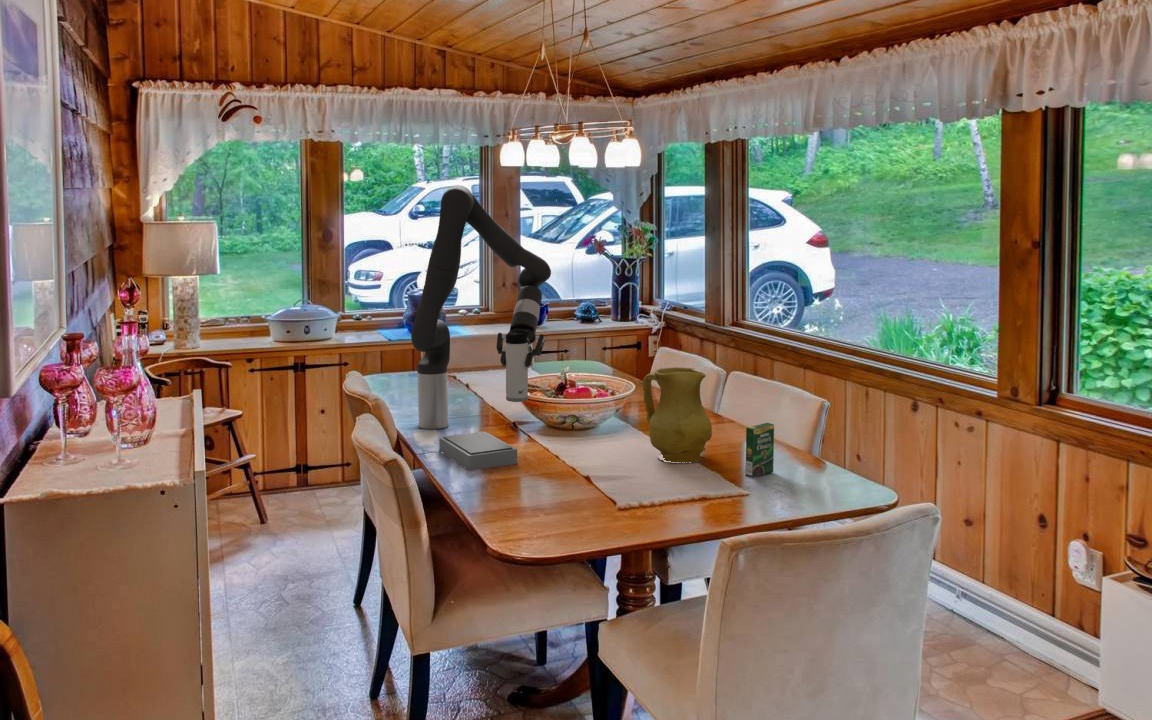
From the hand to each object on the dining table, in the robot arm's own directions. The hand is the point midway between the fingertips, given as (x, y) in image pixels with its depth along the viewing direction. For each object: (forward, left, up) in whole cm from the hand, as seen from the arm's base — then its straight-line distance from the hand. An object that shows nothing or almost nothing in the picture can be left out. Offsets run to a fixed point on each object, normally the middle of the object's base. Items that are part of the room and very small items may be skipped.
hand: (515, 365), depth 279 cm
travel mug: (-1, +1, -11) cm, 11 cm away
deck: (+5, -14, -24) cm, 28 cm away
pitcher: (+31, +35, -24) cm, 53 cm away
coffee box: (+55, +44, -24) cm, 74 cm away
